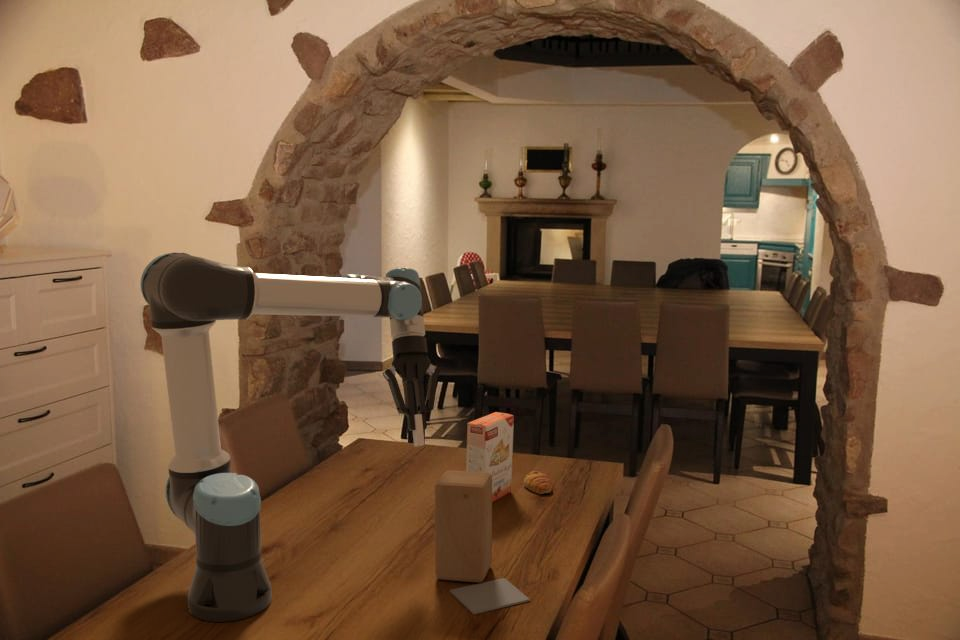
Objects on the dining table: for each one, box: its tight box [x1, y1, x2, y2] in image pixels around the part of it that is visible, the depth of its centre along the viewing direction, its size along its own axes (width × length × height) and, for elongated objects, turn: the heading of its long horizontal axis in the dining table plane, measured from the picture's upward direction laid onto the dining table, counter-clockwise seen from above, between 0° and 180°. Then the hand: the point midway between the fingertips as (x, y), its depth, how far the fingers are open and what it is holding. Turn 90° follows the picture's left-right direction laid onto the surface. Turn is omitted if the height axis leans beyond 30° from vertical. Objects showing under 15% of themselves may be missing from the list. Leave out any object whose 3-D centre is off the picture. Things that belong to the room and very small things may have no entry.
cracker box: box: [465, 411, 515, 503], centre depth 215 cm, size 14×6×21 cm, turn 148°
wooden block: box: [434, 469, 493, 583], centre depth 172 cm, size 10×10×20 cm
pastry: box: [523, 470, 553, 495], centre depth 223 cm, size 9×7×4 cm
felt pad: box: [449, 577, 531, 615], centre depth 163 cm, size 12×10×1 cm
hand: (419, 445), depth 181 cm, fingers closed
